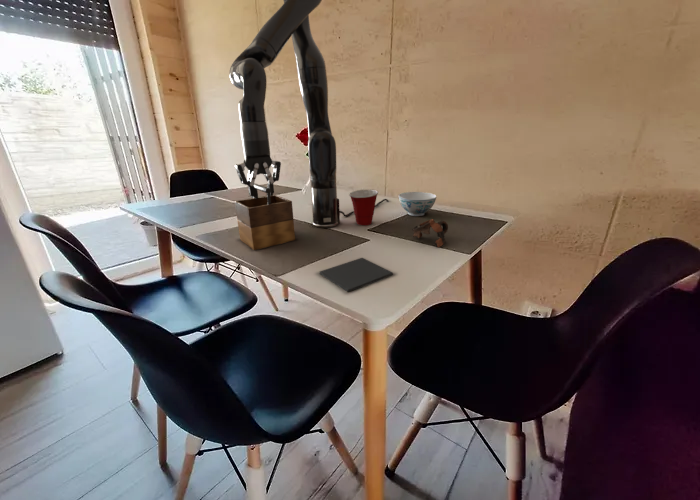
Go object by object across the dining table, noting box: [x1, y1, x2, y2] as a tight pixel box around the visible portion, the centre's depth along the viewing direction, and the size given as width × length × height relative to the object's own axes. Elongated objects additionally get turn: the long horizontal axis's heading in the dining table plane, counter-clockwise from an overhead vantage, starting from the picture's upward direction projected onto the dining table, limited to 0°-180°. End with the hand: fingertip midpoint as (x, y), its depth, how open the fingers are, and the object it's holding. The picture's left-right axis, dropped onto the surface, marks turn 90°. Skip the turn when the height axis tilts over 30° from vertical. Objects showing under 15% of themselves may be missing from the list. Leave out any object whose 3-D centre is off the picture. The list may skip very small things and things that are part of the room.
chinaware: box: [398, 191, 437, 217], centre depth 128 cm, size 15×15×8 cm
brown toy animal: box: [412, 218, 449, 248], centre depth 98 cm, size 12×10×8 cm
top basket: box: [233, 182, 294, 228], centre depth 98 cm, size 14×12×11 cm
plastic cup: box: [348, 188, 379, 226], centre depth 116 cm, size 11×11×12 cm
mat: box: [319, 257, 394, 293], centre depth 78 cm, size 14×12×1 cm
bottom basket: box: [236, 219, 296, 251], centre depth 101 cm, size 14×12×7 cm
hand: (262, 196), depth 97 cm, fingers open, 5 cm apart
